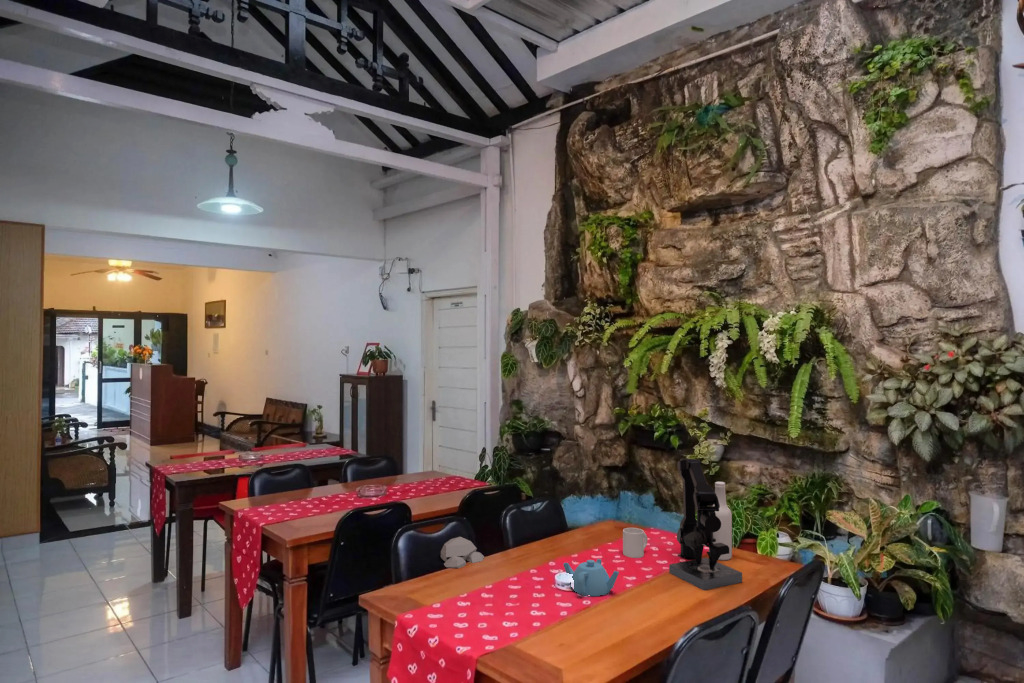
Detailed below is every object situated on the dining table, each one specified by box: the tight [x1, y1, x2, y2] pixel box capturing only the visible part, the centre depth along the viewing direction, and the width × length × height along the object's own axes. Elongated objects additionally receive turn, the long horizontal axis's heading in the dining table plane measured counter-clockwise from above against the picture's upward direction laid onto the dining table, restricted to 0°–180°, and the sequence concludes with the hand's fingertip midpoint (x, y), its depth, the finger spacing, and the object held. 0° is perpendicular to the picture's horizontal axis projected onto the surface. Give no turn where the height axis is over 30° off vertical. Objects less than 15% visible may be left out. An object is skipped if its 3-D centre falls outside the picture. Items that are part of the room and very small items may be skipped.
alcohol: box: [708, 481, 733, 561], centre depth 251 cm, size 9×9×30 cm
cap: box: [698, 566, 712, 572], centre depth 228 cm, size 5×5×4 cm
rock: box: [440, 536, 485, 569], centre depth 241 cm, size 18×20×10 cm
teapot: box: [562, 558, 620, 597], centre depth 214 cm, size 15×15×11 cm
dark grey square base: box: [668, 557, 743, 591], centre depth 228 cm, size 18×18×4 cm
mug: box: [622, 527, 648, 559], centre depth 253 cm, size 12×8×10 cm
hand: (705, 566), depth 228 cm, fingers open, 6 cm apart
